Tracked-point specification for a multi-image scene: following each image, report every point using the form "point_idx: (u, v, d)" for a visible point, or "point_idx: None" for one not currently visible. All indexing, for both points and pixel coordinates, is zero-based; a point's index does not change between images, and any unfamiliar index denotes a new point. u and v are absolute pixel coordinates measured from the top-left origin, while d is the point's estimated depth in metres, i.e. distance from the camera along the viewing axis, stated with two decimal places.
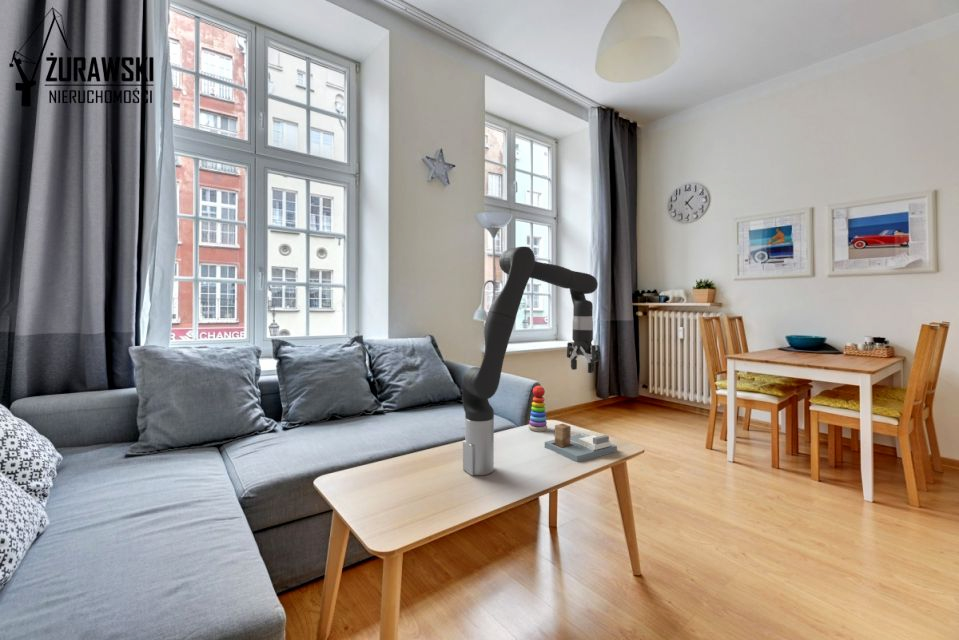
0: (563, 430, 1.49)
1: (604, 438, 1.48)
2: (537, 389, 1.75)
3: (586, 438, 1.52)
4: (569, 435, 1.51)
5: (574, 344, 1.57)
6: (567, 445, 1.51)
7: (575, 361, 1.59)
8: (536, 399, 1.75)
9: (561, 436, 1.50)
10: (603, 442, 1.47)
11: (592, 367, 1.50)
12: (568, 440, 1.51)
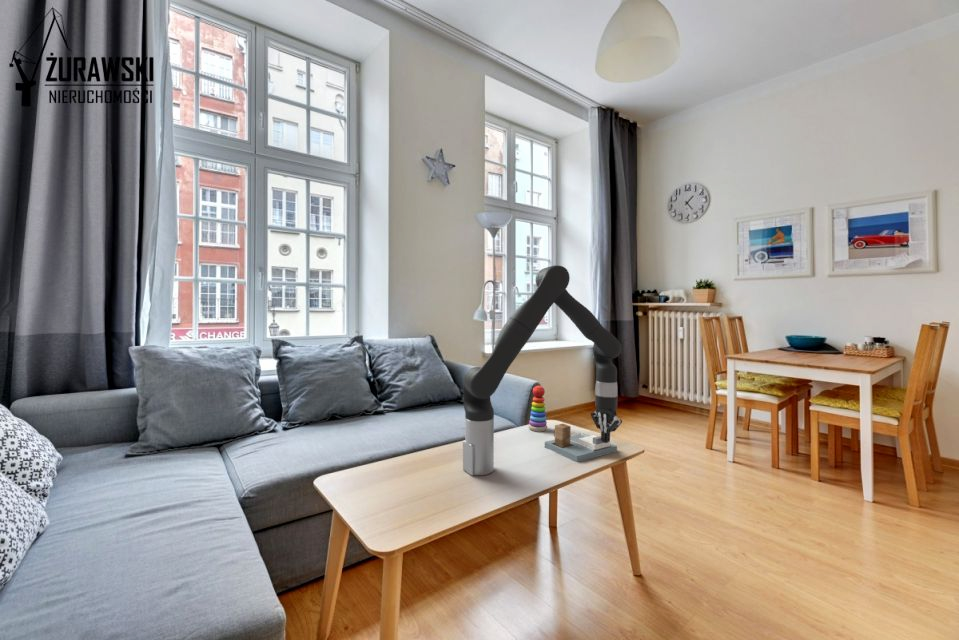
0: (563, 430, 1.49)
1: None
2: (537, 389, 1.75)
3: (586, 438, 1.52)
4: (569, 435, 1.51)
5: (596, 410, 1.48)
6: (567, 445, 1.51)
7: None
8: (536, 399, 1.75)
9: (561, 436, 1.50)
10: (603, 442, 1.48)
11: (608, 437, 1.45)
12: (568, 440, 1.51)
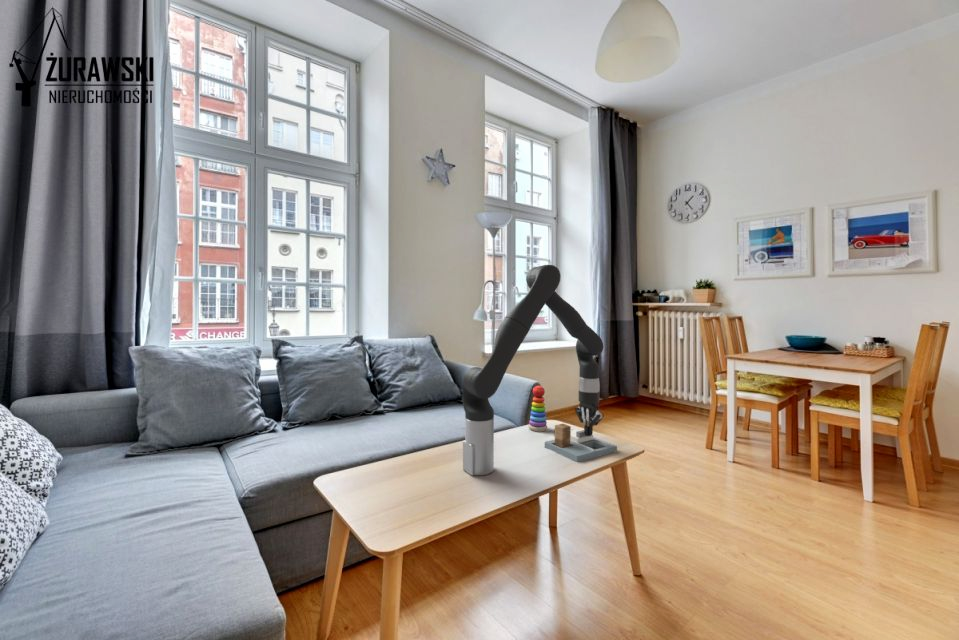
0: (563, 430, 1.49)
1: None
2: (537, 389, 1.75)
3: None
4: (569, 435, 1.51)
5: (580, 405, 1.55)
6: (567, 445, 1.51)
7: None
8: (536, 399, 1.75)
9: (561, 436, 1.50)
10: (586, 436, 1.55)
11: (590, 431, 1.52)
12: (568, 440, 1.51)
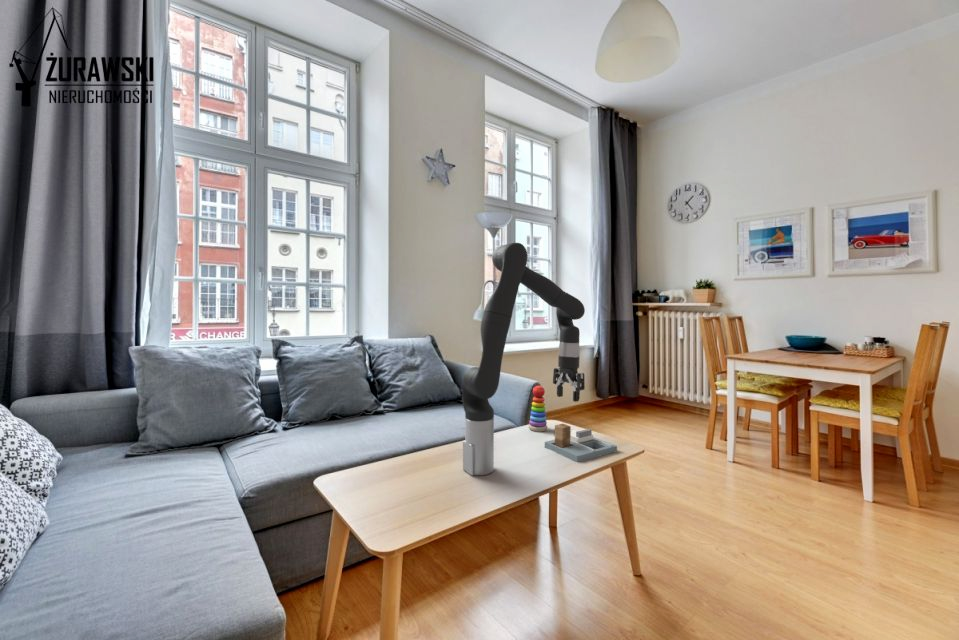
0: (563, 430, 1.49)
1: (587, 432, 1.55)
2: (537, 389, 1.75)
3: None
4: (569, 435, 1.51)
5: (560, 370, 1.52)
6: (567, 445, 1.51)
7: (561, 388, 1.54)
8: (536, 399, 1.75)
9: (561, 436, 1.50)
10: (586, 436, 1.55)
11: (577, 396, 1.46)
12: (568, 440, 1.51)
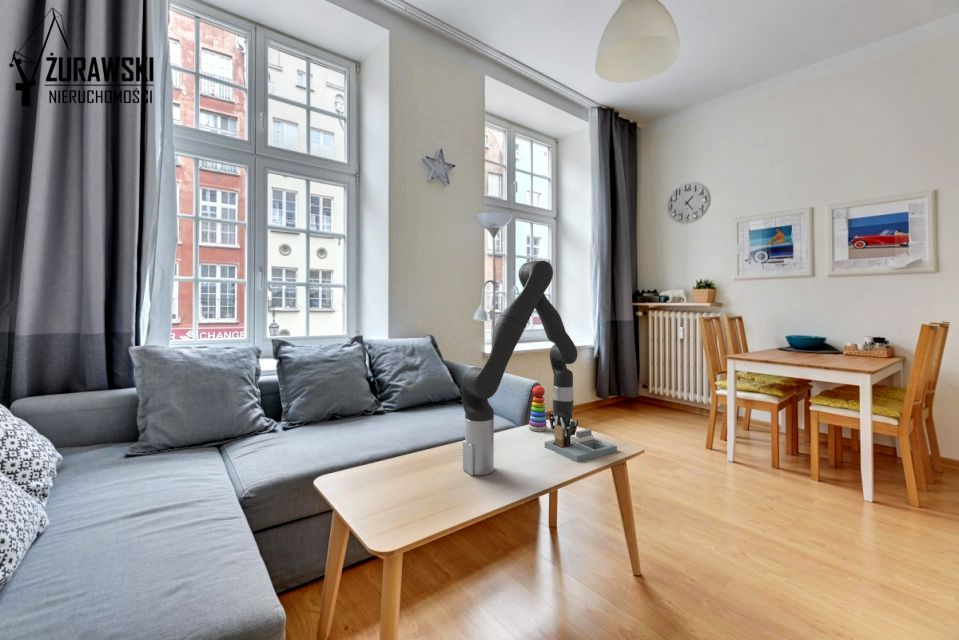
0: (563, 430, 1.49)
1: (587, 432, 1.55)
2: (537, 389, 1.75)
3: None
4: None
5: (554, 413, 1.54)
6: None
7: None
8: (536, 399, 1.75)
9: (561, 436, 1.50)
10: (586, 436, 1.55)
11: (568, 440, 1.49)
12: None
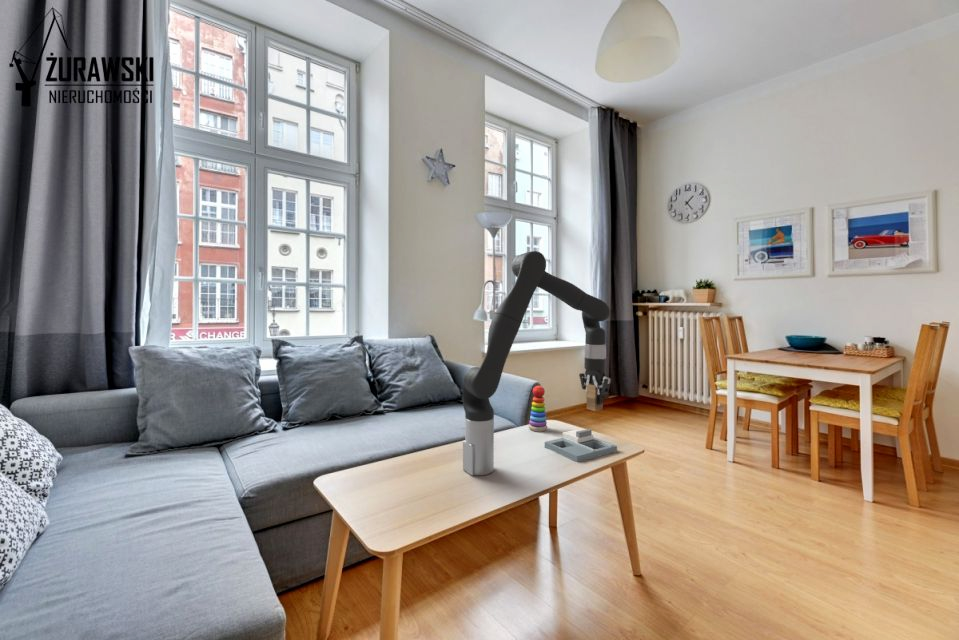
0: (595, 388, 1.47)
1: (587, 432, 1.55)
2: (537, 389, 1.75)
3: (570, 432, 1.59)
4: None
5: (586, 372, 1.52)
6: None
7: None
8: (536, 399, 1.75)
9: (594, 394, 1.48)
10: (586, 436, 1.55)
11: (601, 399, 1.47)
12: None
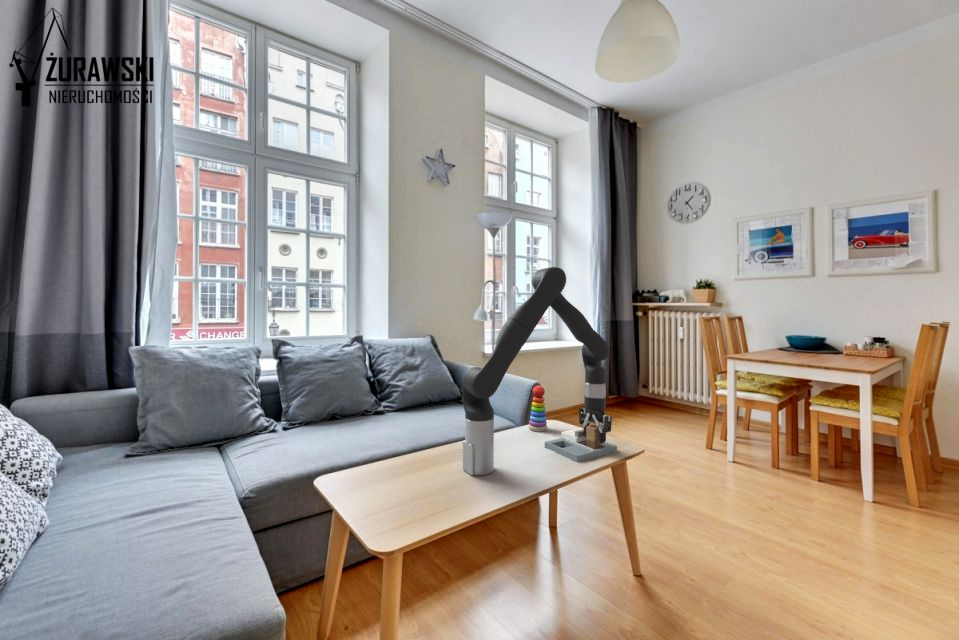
0: (595, 431, 1.48)
1: None
2: (537, 389, 1.75)
3: (569, 431, 1.60)
4: None
5: (586, 410, 1.52)
6: (599, 446, 1.49)
7: None
8: (536, 399, 1.75)
9: (593, 437, 1.48)
10: None
11: (604, 437, 1.46)
12: None
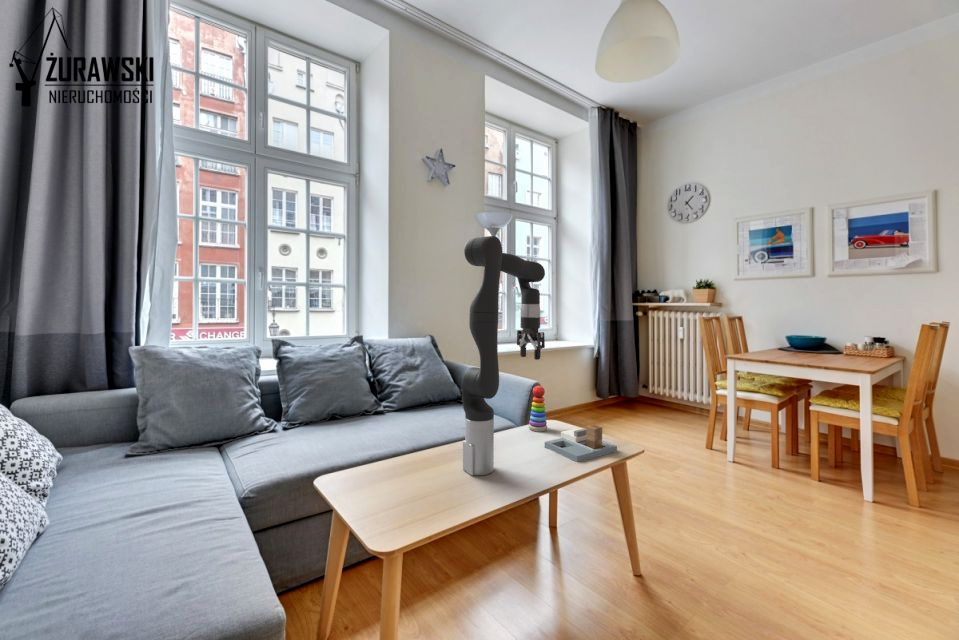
0: (595, 431, 1.48)
1: (585, 431, 1.56)
2: (537, 389, 1.75)
3: (568, 431, 1.60)
4: (601, 436, 1.50)
5: (523, 332, 1.60)
6: (599, 446, 1.49)
7: (524, 349, 1.61)
8: (536, 399, 1.75)
9: (593, 437, 1.48)
10: (584, 435, 1.56)
11: (538, 354, 1.53)
12: (600, 441, 1.50)
